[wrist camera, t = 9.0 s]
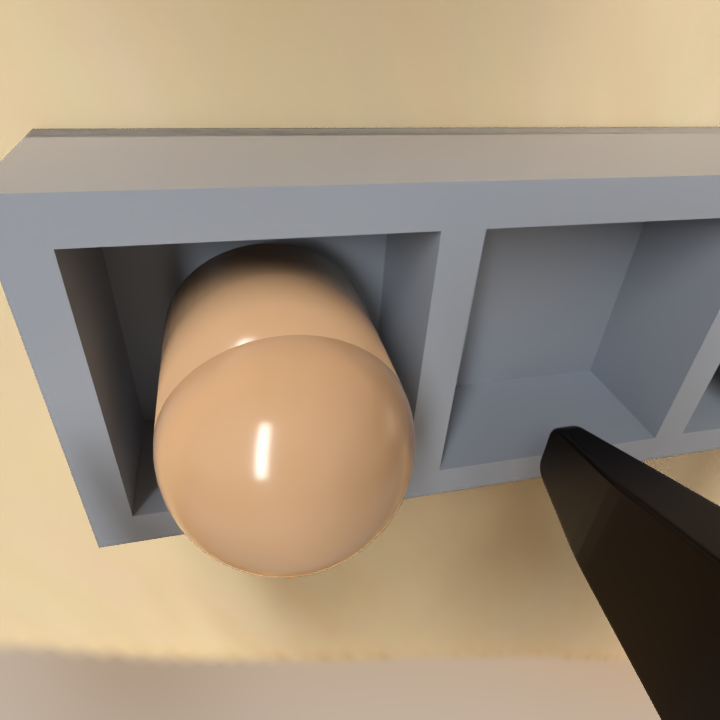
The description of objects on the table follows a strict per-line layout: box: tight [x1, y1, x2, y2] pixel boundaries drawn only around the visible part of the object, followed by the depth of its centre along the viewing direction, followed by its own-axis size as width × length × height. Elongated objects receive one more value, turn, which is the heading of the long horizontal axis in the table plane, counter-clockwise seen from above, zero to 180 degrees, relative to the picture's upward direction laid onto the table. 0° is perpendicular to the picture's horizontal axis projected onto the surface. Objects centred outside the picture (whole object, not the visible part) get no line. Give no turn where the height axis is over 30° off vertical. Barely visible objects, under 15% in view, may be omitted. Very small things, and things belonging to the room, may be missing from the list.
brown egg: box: [153, 243, 416, 578], centre depth 10 cm, size 4×4×6 cm
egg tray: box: [0, 127, 720, 548], centre depth 13 cm, size 21×7×4 cm, turn 87°
